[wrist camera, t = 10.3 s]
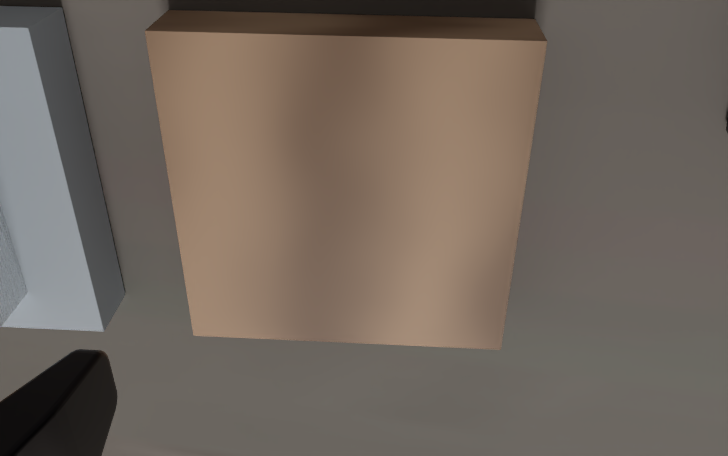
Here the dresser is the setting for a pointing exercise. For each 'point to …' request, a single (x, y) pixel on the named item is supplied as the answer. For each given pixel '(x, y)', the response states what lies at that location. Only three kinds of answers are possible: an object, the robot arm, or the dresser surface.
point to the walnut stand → (347, 171)
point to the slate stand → (52, 180)
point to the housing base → (9, 274)
